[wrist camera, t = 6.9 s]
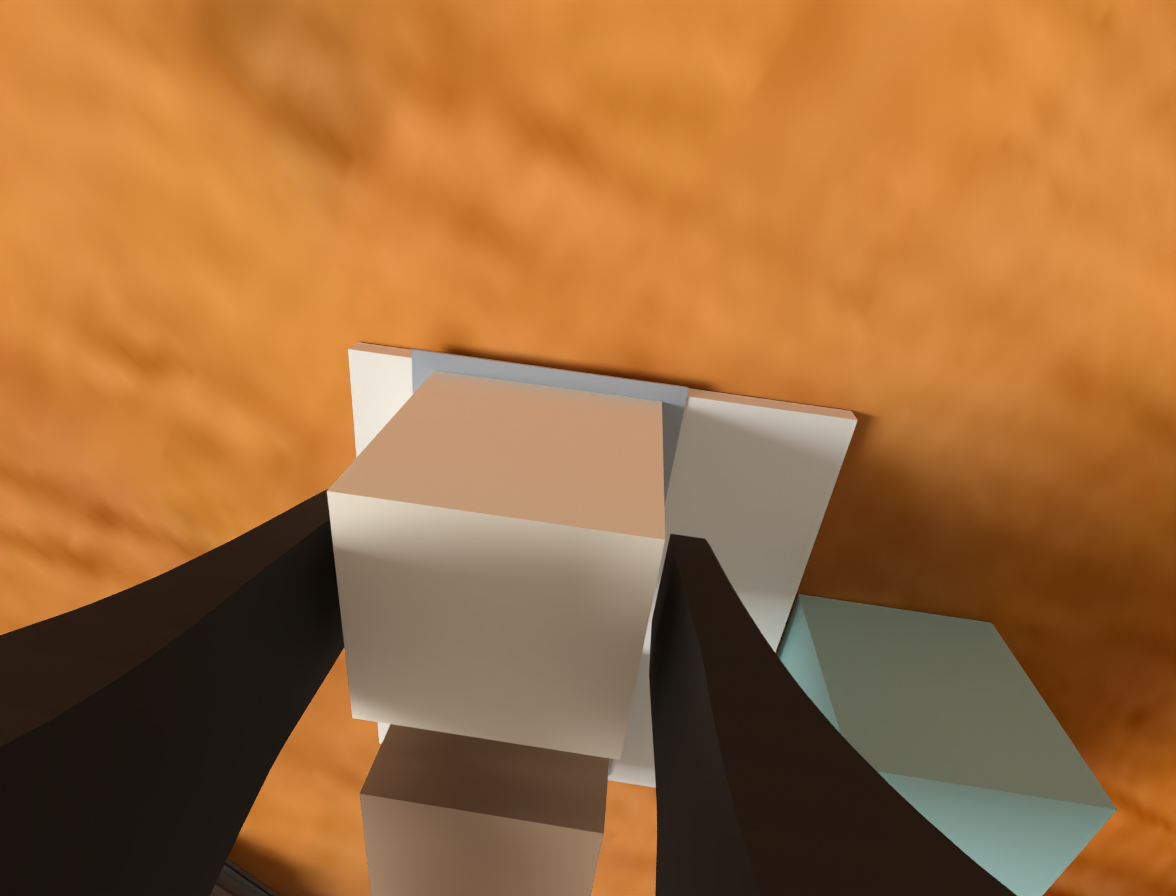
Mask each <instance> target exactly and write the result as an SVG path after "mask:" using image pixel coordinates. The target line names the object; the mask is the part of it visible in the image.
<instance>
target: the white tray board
mask: <svg viewBox="0 0 1176 896" xmlns="http://www.w3.org/2000/svg"><path fill="white" fill-rule="evenodd" d="M348 354H349V367H350V380H351V392H352V405H353V418H354V430H355V443H356V456H357V457H358V455H359V454H360V453H361V452H362V451H363V450H364V449H365V448H366V446H367V445H368V444H369V443H370V442H371V441H372V440H373V439H374V438H375V436H376V435H377V434H378V433H379V432H380V431H381V430H382V429H383V427H384V426H385V425H386V424H387V423H388V422H389V421H390V420H391V418H392V417H393V416H394V415H395V414H396V413H397V412H398V411H399V409H400V408H401V407H402V406H403V405H404V404H405V403H406V402H407V400H408V399H409V398H410V397H411V396H412V395H413V394H414V393H415V391H416V390H417V389H418V388H419V387H420V386H421V385H422V384H423V383H424V381H425V380H426V379H427V378H428V377H429V376H430V375H431V374H432V372H433V371H434V370H435V371H442V372H449V373H457V374H464V375H471V376H478V377H486V378H493V379H500V380H508V381H515V382H522V383H530V384H537V385H544V386H552V387H559V388H566V389H574V390H581V391H588V392H596V393H603V394H610V395H618V396H625V397H632V398H640V399H647V400H654V401H662V427H663V468H664V509H665V543H664V548H663V553H662V558H661V563H660V568H659V573H658V578H657V582H656V587H655V592H654V597H653V602H652V607H651V612H650V617H649V621H648V626H647V631H646V636H645V641H644V646H643V651H642V656H641V660H640V665H639V670H638V675H637V680H636V685H635V690H634V695H633V699H632V704H631V709H630V714H629V719H628V724H627V729H626V734H625V738H624V743H623V748H622V753H621V758H620V760H616V759H610V758H609V766H608V780H611V781H617V782H623V783H629V784H636V785H642V786H648V787H654V788H656V782H655V766H654V750H653V734H652V718H651V701H650V684H649V662H650V643H651V625H652V617H653V613H654V608H655V603H656V599H657V594H658V589H659V585H660V580H661V575H662V571H663V566H664V561H665V557H666V552H667V547H668V543H669V538H670V534H677V535H684V536H690V537H697V538H704V539H706V540H707V542H708V543H709V544H710V546H711V548H712V550H713V552H714V554H715V556H716V557H717V559H718V561H719V563H720V565H721V567H722V569H723V570H724V572H725V574H726V576H727V578H728V579H729V581H730V583H731V584H732V586H733V588H734V590H735V591H736V593H737V595H738V596H739V598H740V600H741V601H742V603H743V605H744V606H745V608H746V609H747V611H748V613H749V614H750V616H751V617H752V619H753V620H754V622H755V623H756V625H757V627H758V628H759V630H760V631H761V633H762V634H763V636H764V637H765V639H766V640H767V642H768V643H769V645H770V646H771V647H772V649H773V650H774V652H775V653H776V650H777V647H778V644H779V641H780V638H781V636H782V633H783V630H784V627H785V624H786V621H787V619H788V616H789V613H790V610H791V607H792V605H793V602H794V599H795V596H796V593H797V590H798V588H799V585H800V582H801V579H802V576H803V573H804V571H805V568H806V565H807V562H808V559H809V556H810V554H811V551H812V548H813V545H814V542H815V540H816V537H817V534H818V531H819V528H820V525H821V523H822V520H823V517H824V514H825V511H826V508H827V506H828V503H829V500H830V497H831V494H832V491H833V489H834V486H835V483H836V480H837V477H838V475H839V472H840V469H841V466H842V463H843V460H844V458H845V455H846V452H847V449H848V446H849V443H850V441H851V438H852V435H853V432H854V429H855V426H856V424H857V421H858V420H857V419H856V417H855V416H854V414H853V413H852V411H849V410H842V409H835V408H827V407H820V406H813V405H806V404H799V403H792V402H784V401H777V400H770V399H763V398H756V397H748V396H741V395H734V394H727V393H720V392H713V391H705V390H698V389H691V388H688V387H686V386H679V385H672V384H665V383H657V382H650V381H643V380H636V379H629V378H621V377H614V376H607V375H600V374H593V373H586V372H578V371H571V370H564V369H557V368H550V367H542V366H535V365H528V364H521V363H514V362H506V361H499V360H492V359H485V358H478V357H471V356H463V355H456V354H449V353H442V352H435V351H427V350H420V349H413V348H412V349H404V348H397V347H389V346H382V345H375V344H368V343H361V342H357V343H356V344H354V345H353V346H352V347H350V348H349V349H348ZM389 726H390V724H387V723H381V722H378V734H379V743H381V744H382V742H383V740H384V738H385V735H386V733H387V731H388V729H389Z"/></svg>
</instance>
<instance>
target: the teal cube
mask: <svg viewBox="0 0 1176 896" xmlns="http://www.w3.org/2000/svg"><path fill="white" fill-rule="evenodd" d="M777 656H778V657H779V659H780V660H781V661H782V663H783V664H784V665H785V667H786V668H787V670H788V671H789V672H790V674H791V675H792V676H793V678H794V679H795V680H796V682H797V683H798V684H799V685H800V687H801V688H802V689H803V691H804V692H805V693H806V694H807V696H808V697H809V698H810V699H811V700H812V701H813V703H814V704H815V705H816V706H817V707H818V708H819V710H820V711H821V712H822V713H823V714H824V715H825V717H826V718H827V719H828V720H829V721H830V723H831V724H832V725H833V726H834V727H835V728H836V729H837V730H838V731H839V733H840V734H841V735H842V736H843V737H844V738H845V739H846V740H847V741H848V742H849V743H850V744H851V746H852V747H853V748H854V749H855V750H856V751H857V752H858V753H859V754H860V755H861V756H862V757H863V758H864V759H865V760H866V761H867V762H868V763H869V764H870V765H871V766H872V767H873V768H874V769H875V770H876V771H877V772H878V773H879V774H880V775H881V776H882V777H883V778H884V779H885V780H886V781H887V782H888V783H889V784H890V785H891V786H892V787H893V788H894V789H895V790H896V791H897V792H898V793H899V794H900V795H901V796H902V797H903V798H905V799H906V800H907V801H908V802H909V803H910V804H911V805H912V806H913V807H914V808H915V809H916V810H917V811H918V812H919V813H920V814H922V815H923V816H924V817H925V818H926V819H927V820H928V821H929V822H931V823H932V824H933V825H934V826H935V827H936V828H937V829H938V830H940V831H941V832H942V833H943V834H944V835H945V836H946V837H947V838H949V839H950V840H951V841H952V842H953V843H954V844H955V845H956V846H958V847H959V848H960V849H961V850H962V851H963V852H964V853H965V854H967V855H968V856H969V857H970V858H971V859H973V860H974V861H975V862H976V863H977V864H978V865H980V866H981V867H982V868H983V869H985V870H986V871H987V872H988V873H990V874H991V875H992V876H993V877H995V878H996V879H997V880H998V881H1000V882H1001V883H1002V884H1003V885H1005V886H1006V887H1007V888H1008V889H1010V890H1011V891H1012V892H1013V893H1015V894H1016V895H1017V896H1042V895H1043V894H1044V893H1045V892H1046V891H1047V890H1048V889H1049V887H1050V886H1051V885H1052V884H1053V883H1054V882H1055V880H1056V879H1057V878H1058V877H1059V876H1060V875H1061V874H1062V872H1063V871H1064V870H1065V869H1066V868H1067V867H1068V866H1069V864H1070V863H1071V862H1072V861H1073V860H1074V859H1075V858H1076V856H1077V855H1078V854H1079V853H1080V852H1081V851H1082V849H1083V848H1084V847H1085V846H1086V845H1087V844H1088V843H1089V841H1090V840H1091V839H1092V838H1093V837H1094V836H1095V835H1096V833H1097V832H1098V831H1099V830H1100V829H1101V828H1102V826H1103V825H1104V824H1105V823H1106V822H1107V821H1108V820H1109V818H1110V817H1111V816H1112V815H1113V814H1114V813H1115V812H1116V810H1117V808H1116V807H1115V805H1114V804H1113V802H1112V801H1111V799H1110V798H1109V796H1108V795H1107V793H1106V792H1105V790H1104V789H1103V787H1102V786H1101V784H1100V783H1099V781H1098V780H1097V778H1096V777H1095V775H1094V774H1093V773H1092V771H1091V770H1090V768H1089V767H1088V765H1087V764H1086V762H1085V761H1084V759H1083V758H1082V756H1081V755H1080V753H1079V752H1078V750H1077V749H1076V747H1075V746H1074V744H1073V743H1072V741H1071V740H1070V738H1069V737H1068V735H1067V734H1066V732H1065V731H1064V729H1063V728H1062V726H1061V725H1060V723H1059V722H1058V720H1057V719H1056V717H1055V716H1054V714H1053V713H1052V712H1051V710H1050V709H1049V707H1048V706H1047V704H1046V703H1045V701H1044V700H1043V698H1042V697H1041V695H1040V694H1039V692H1038V691H1037V689H1036V688H1035V686H1034V685H1033V683H1032V682H1031V680H1030V679H1029V677H1028V676H1027V674H1026V673H1025V671H1024V670H1023V668H1022V667H1021V665H1020V664H1019V662H1018V661H1017V659H1016V658H1015V656H1014V655H1013V653H1012V652H1011V650H1010V649H1009V648H1008V646H1007V645H1006V643H1005V642H1004V640H1003V639H1002V637H1001V636H1000V634H999V633H998V631H997V630H996V628H995V627H994V625H993V624H992V623H990V622H983V621H977V620H970V619H963V618H957V617H950V616H943V615H937V614H930V613H923V612H916V611H910V610H903V609H896V608H890V607H883V606H876V605H870V604H863V603H856V602H850V601H843V600H836V599H830V598H823V597H816V596H810V595H803V594H798V596H797V599H796V602H795V605H794V607H793V610H792V613H791V616H790V619H789V621H788V624H787V627H786V630H785V633H784V635H783V638H782V641H781V644H780V647H779V649H778V652H777Z"/></svg>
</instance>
